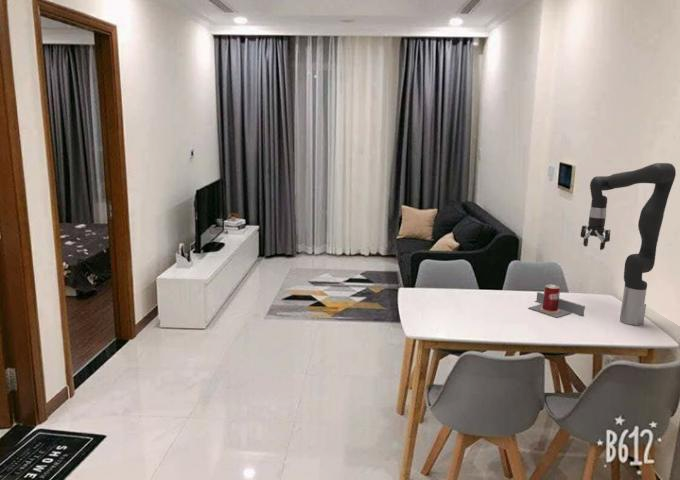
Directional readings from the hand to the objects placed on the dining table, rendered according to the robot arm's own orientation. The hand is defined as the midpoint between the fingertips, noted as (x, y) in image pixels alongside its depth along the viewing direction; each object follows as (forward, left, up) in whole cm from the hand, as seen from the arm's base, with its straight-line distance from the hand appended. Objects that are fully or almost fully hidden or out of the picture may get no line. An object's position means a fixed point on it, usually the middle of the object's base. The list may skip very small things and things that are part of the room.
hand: (593, 247), depth 280 cm
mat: (+4, +26, -30) cm, 40 cm away
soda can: (+4, +26, -30) cm, 39 cm away
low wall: (+4, +18, -30) cm, 35 cm away
